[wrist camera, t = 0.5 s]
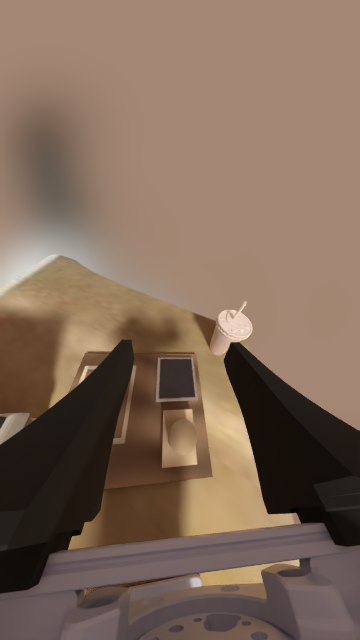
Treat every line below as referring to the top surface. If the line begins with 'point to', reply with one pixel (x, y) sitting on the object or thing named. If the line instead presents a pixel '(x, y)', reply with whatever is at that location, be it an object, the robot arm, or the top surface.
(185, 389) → the ink pad
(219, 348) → the smoothie
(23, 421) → the toaster
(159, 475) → the board
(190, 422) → the stamp
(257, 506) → the top surface
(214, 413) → the top surface
